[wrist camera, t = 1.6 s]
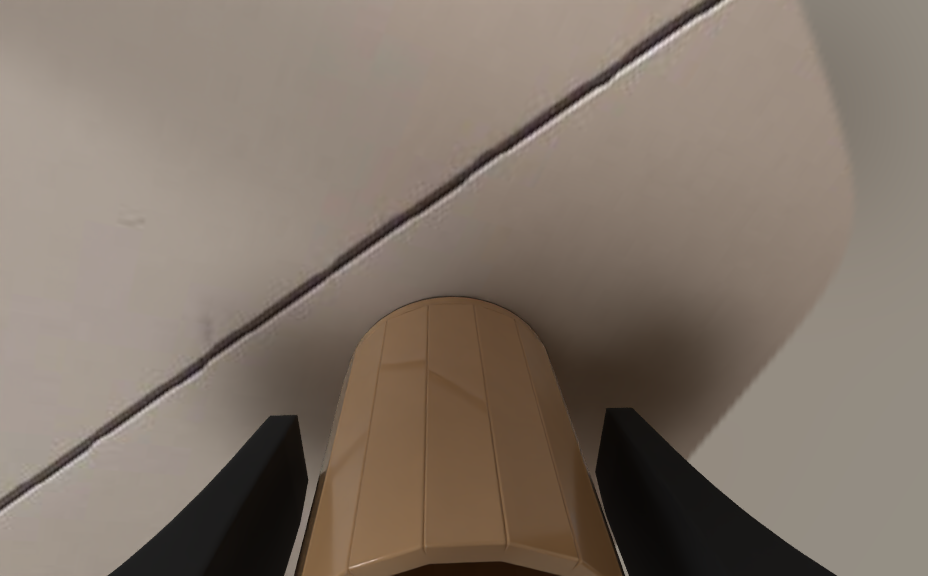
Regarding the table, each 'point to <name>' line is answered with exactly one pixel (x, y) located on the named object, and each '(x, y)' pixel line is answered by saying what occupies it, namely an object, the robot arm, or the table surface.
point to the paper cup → (454, 456)
